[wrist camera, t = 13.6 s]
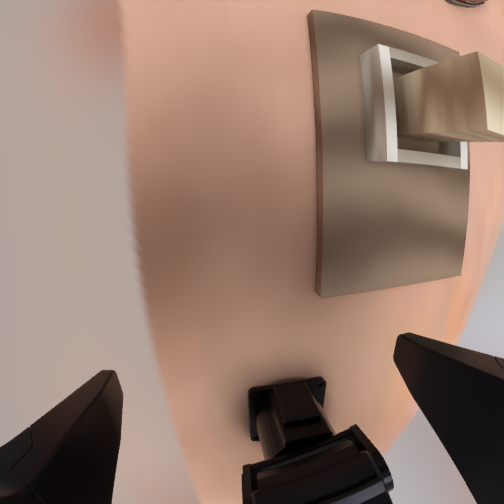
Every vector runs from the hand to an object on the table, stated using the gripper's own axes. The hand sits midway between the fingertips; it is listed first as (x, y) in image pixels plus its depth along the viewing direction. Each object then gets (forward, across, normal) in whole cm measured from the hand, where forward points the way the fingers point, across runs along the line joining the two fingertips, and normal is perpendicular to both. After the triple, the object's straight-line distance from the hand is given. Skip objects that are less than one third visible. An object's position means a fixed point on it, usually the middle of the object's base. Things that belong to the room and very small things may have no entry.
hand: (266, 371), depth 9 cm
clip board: (+12, -13, -7) cm, 19 cm away
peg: (+11, -13, -10) cm, 20 cm away
